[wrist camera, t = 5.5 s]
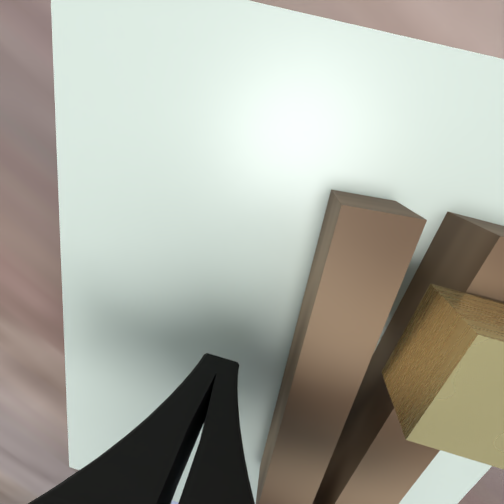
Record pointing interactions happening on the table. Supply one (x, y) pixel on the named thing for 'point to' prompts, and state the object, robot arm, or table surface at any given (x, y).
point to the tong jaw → (335, 338)
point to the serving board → (240, 192)
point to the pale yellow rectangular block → (451, 376)
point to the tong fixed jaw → (373, 385)
